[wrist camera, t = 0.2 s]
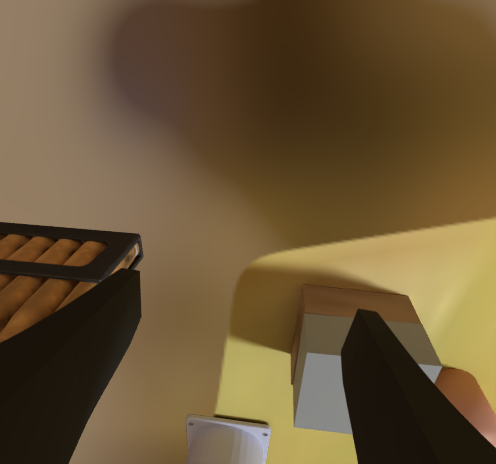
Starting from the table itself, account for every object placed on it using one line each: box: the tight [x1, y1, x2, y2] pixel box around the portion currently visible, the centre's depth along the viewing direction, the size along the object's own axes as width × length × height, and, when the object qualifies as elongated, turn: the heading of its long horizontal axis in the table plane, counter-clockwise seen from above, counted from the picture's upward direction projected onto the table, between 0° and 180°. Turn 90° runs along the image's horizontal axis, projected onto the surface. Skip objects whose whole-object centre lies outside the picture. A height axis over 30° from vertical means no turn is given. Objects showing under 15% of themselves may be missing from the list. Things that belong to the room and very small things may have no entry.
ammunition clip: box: [0, 222, 143, 343], centre depth 18 cm, size 11×2×12 cm, turn 88°
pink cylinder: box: [434, 369, 496, 448], centre depth 24 cm, size 4×4×4 cm
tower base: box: [291, 284, 421, 385], centre depth 23 cm, size 7×7×3 cm
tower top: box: [293, 313, 442, 434], centre depth 21 cm, size 7×7×3 cm
